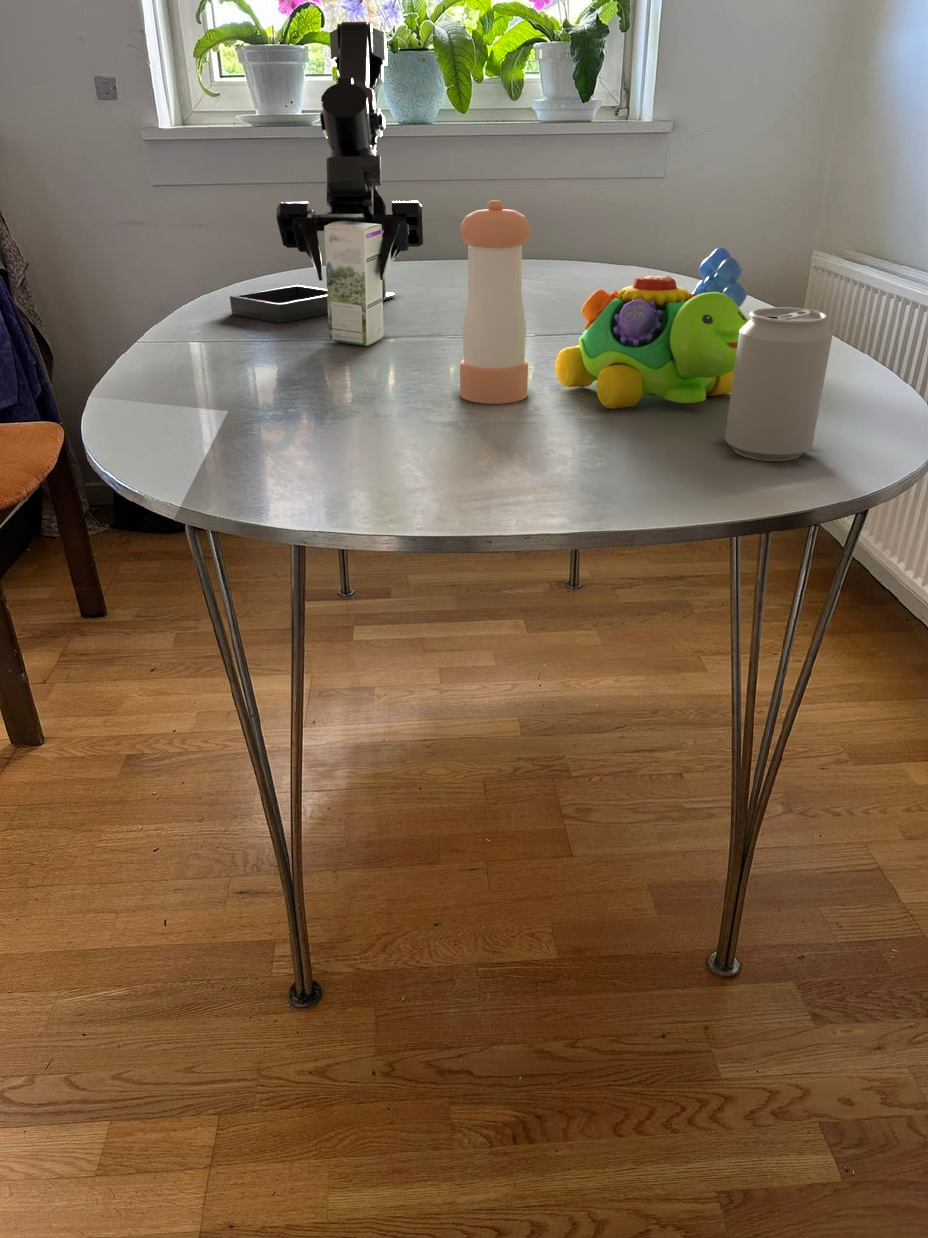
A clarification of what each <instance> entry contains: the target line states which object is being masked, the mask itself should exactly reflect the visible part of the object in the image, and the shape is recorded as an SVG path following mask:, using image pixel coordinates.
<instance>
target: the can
mask: <svg viewBox="0 0 928 1238" xmlns="http://www.w3.org/2000/svg"><path fill="white" fill-rule="evenodd" d="M748 315H749V316H750V319H749V322H747V323H746V324H745V325H744V326H743V327H742V328H741V329H740V331H739V338H738V346H737V353H736V360H735V368H734V375H733V383H732V390H731V393H730V399H729V404H728V413H727V421H726V427H725V435H724V439H725V441H726V443H727V444H728V445H729V446H730V447H731V448H732V450H733V452H735V453H736V454H737V455H739V456H742V457H745V458H748V459H752V460H756V461H764V462H788V461H793V460H796V459H798V458H800V457H801V456H802V454H804V453H805V452H807V451H809V450H810V449H812V447H813V444H814V437H815V433H816V427H817V421H818V417H819V411H820V406H821V399H822V395H823V389H824V383H825V378H826V372H827V369H828V362H829V356H830V351H831V346H832V340H833V333H832V331H831V330H830V328H829V327H828V326H827V324H826V321H827V320H828V318H829V316H828V315H827V314H826V313H824V312H823V311H819V310H814V309H809V308H801V307H787V306H784V307H783V306H771V307H760V308H755V309H753V310H751V311H750V312H749V314H748Z"/></svg>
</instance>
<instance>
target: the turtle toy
mask: <svg viewBox="0 0 928 1238" xmlns="http://www.w3.org/2000/svg"><path fill="white" fill-rule="evenodd" d="M580 312H581V314H582V316H583V317H584V318H585V320H587V322H586V323H585V324H584V329H585V330H584V331H583V332H582V335H581V336H579V338H578V342H579V343H578V344H576V345H575V346H568V347H564V348H562V349H561V350H560V352H559V353H558V354H557V356H556V359H555V374H556V375H555V376H556V378H557V381H558V382H559V383H560V384H561V385H562V386H564V387H566V388H577V387H580V388H585V387H589V386H591V385H592V384H593V383H594V382H595V381H596V394H597V397H598V400H599V402H600V404H601V405H603V406H604V408H607V409H611V410H612V409H621V408H622V409H623V408H630V407H634V406H637V404H638V403H639V402H640V400H641V399H643V398H644V397H645V396H646V397H654V398H655V397H656V398H661V399H664V400H666V401H669V402H673V403H679V404H694V403H695V404H696V403H701V402H704V401H706V399H707V397H713V396H714V397H715V396H721V395H728V394H731V390H732V383H733V375H734V368H735V360H736V353H737V346H738V338H739V331H740V329H741V328H742V327H743V326H744V325H745V324H746V323H747V322H749V321H750V319H749V318H748V317H747V315H745V313H744V312H743V311H742V310H741V308H740V307H738V306H737V304H736V303H735V302H734V301H733V300H732V299H731V298H730V297H728V296H727V295H725V294H722V293H718V292H709V293H703V294H699V295H696V294H693V295H692V294H691V293H690V292H689V291H688V290H687V289H685V288H683V287H681V286H677V282H676V280H675V279H674V278H672V277H670V275H667V276H666V275H665V276H664V275H646V276H644V275H641V276H640V277H635V278H634V280H633V283H632V285H629V286H626V287H623V288H621V289H620V290H619V291H618V290H614V291H612V292H611V293H609V292H607V291H605V290H604V289H602V288H599V289H596V290H595V291H594V292H593V293H592V294H591V295H590V296H589V297H588V298H587V300H586V301H585V302H584V304H583V305H582V306H581V309H580Z"/></svg>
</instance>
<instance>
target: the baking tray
mask: <svg viewBox="0 0 928 1238" xmlns="http://www.w3.org/2000/svg"><path fill="white" fill-rule="evenodd" d="M229 302H230V311H231V315H235V316H241V317H247V318H252V319H257V320H262V321H268V322H273V323H278V324H283V323H289V322H293V321H294V322H295V321H300V320H303V319H308V318H314V317H317V316H318V317H319V316H323V315H328V300H327V288H321V287H320V288H319V287H315V286H307V285H299V284H296V285H290V286H289V285H288V286H283V287H277V288H271V289H265V290H259V291H253V292H248V293H243V294H235V295H230V296H229Z"/></svg>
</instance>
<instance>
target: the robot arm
mask: <svg viewBox="0 0 928 1238" xmlns="http://www.w3.org/2000/svg"><path fill="white" fill-rule="evenodd" d="M336 24H337V26H336V29H334V30H332V31H330V32H329V47H330V61H331V64H332V66H333V67H336V72H337V76H338V77H337V78H336V83H335V84H333V85H330V86H329V87H328V88H326V90H324V92H323V94H322V95H321V97H320V98H321V99H320V101H321V107H322V110H321V112H320V113H319V119H320V126H321V131H322V134H323V135H324V137H325V139H326V140H327V144H328V146H329V148H330V156H329V157H327V158H326V160H325V162H326V167H325V168H326V205H327V208H329V212H326V211H325V212H323V211H322V212H314V210H312V209H311V208H310V207H309V202H308V201H291V202H290V201H285V202H284V201H282V202H280V203H279V204H278V205H277V207H276V222H277V226H278V230H279V234H280V238H281V242H282V246H283V247H285V248H287V249H297V250H298V252H300V253H305V254H306V255H307V256H308V258H309V260H310V261H311V263H312V266H313V267H314V270H315V273H316V277H317V279H318V281H320V282H322V281H323V279H324V268H323V262H322V261H323V260H322V253H321V245H320V240H319V234H318V232H324V228H325V227H324V226H326V225H328V224H330V223H333V222H337V221H349V222H360V223H372V224H381V225H382V250H381V258H380V280H382V302H384V301H386V300H388V299H391V298H393V297H395V295H396V294H395V293H394V292H387V291H388V289H387V274H388V272H389V270H390V268H391V266H393V265H392V264H393V263H394V261H395V260H398V256H399V255H400V254H401V253H402V252H407V251H408V250H409V249H410V248H412V247H413V248H417V247H418V248H419V247H421V246H422V245H424V222H423V221H424V220H423V218H424V217H423V205H422V204H421V203H420V202H419V201H418V200H411V201H410V200H409V201H405V200H403V201H400V200H399V201H397V200H396V201H394V200H393V201H391V213H392V214H388V211H387V205H386V203H385V201H384V199H383V198H382V196H381V195H380V193H379V192H378V187H381V186H382V183H383V182H382V179H383V178H382V159H381V155H380V154H377V150H376V148H377V139H378V138H382V136H383V131H384V130H385V128H386V119H385V116H384V115H383V113H382V112H381V109H380V107H376V99H375V98H376V97H377V96H376V95H377V94H378V93H379V91H380V89H381V87H382V85H383V83H384V66H388V48H387V38H386V37H387V36H386V33H385V32H384V31H382V30H380V29H377V28H376V27H373V24H372V23H368V22H367V21H341V23H336Z"/></svg>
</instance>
